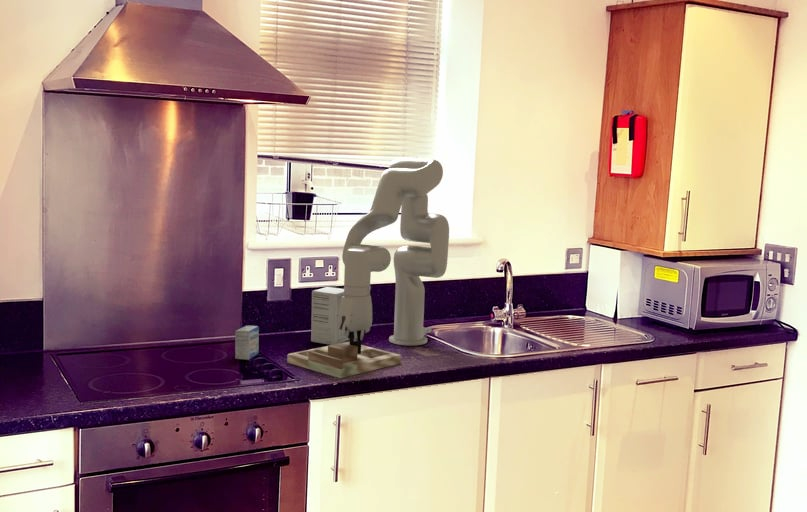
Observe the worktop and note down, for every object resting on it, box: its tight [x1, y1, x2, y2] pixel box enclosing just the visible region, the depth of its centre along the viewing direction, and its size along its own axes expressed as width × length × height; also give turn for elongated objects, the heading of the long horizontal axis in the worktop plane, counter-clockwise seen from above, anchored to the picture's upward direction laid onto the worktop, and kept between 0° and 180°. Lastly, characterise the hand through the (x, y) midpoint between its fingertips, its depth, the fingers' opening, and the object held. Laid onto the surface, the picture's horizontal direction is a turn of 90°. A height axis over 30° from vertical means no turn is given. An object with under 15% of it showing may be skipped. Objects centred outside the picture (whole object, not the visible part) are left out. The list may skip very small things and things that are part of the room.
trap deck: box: [286, 341, 402, 379], centre depth 259 cm, size 25×22×5 cm
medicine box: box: [234, 325, 260, 361], centre depth 262 cm, size 8×4×9 cm, turn 168°
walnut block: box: [327, 342, 358, 364], centre depth 252 cm, size 6×6×4 cm
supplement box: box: [310, 286, 349, 346], centre depth 285 cm, size 10×9×17 cm
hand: (355, 353), depth 256 cm, fingers closed
